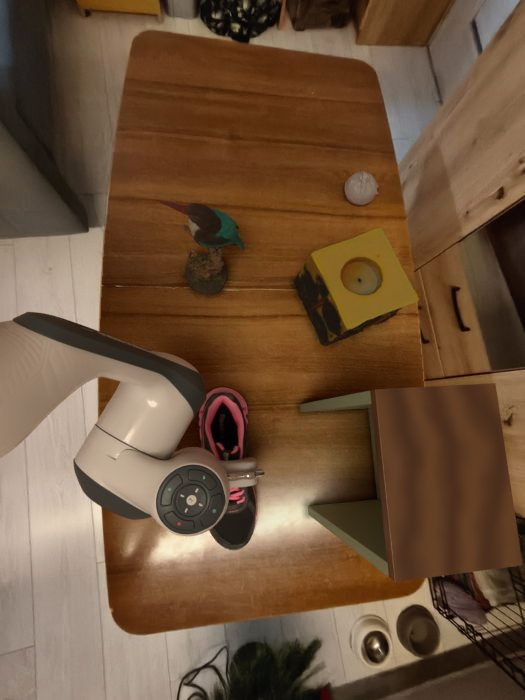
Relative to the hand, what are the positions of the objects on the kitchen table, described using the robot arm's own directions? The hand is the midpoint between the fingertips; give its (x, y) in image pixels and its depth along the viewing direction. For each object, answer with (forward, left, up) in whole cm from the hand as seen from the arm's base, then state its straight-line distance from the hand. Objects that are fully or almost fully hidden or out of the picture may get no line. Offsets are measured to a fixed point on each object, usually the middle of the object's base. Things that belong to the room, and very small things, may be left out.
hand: (192, 469), depth 72 cm
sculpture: (+3, +36, -4) cm, 36 cm away
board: (+28, 0, +29) cm, 40 cm away
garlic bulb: (+36, +53, -4) cm, 64 cm away
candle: (+30, +30, -4) cm, 43 cm away
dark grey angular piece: (+28, 0, -4) cm, 28 cm away
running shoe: (+5, 0, -4) cm, 7 cm away
